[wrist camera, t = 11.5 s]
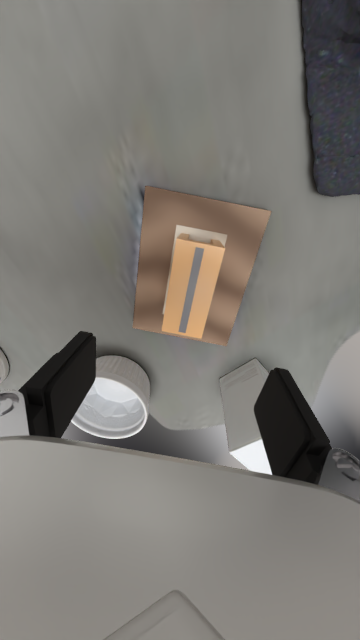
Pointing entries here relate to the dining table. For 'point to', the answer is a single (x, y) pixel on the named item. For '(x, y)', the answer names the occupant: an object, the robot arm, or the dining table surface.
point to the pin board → (202, 225)
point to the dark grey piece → (334, 92)
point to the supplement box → (244, 415)
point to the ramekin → (115, 399)
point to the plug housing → (191, 285)
